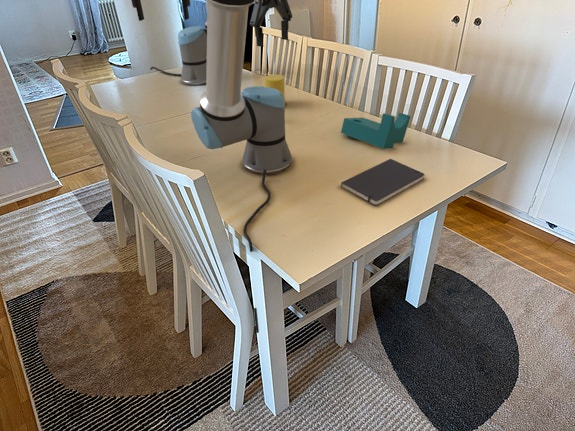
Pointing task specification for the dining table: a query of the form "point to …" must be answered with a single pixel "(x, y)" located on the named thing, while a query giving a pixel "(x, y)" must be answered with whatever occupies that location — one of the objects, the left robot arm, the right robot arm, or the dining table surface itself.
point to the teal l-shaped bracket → (377, 130)
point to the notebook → (382, 181)
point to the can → (275, 83)
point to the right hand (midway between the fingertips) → (164, 19)
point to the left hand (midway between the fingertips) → (272, 42)
